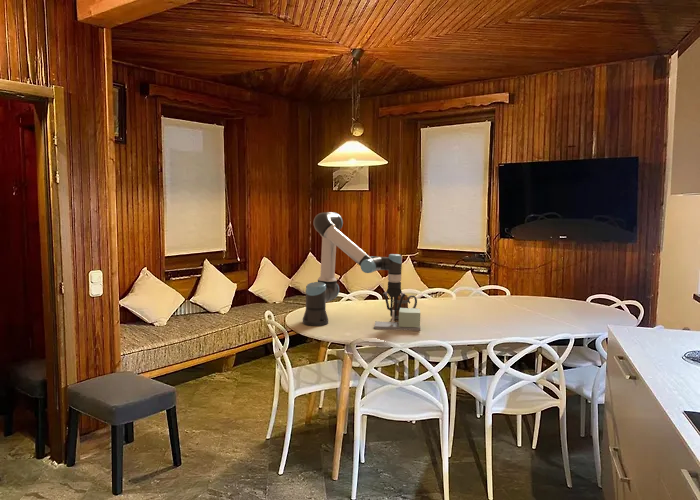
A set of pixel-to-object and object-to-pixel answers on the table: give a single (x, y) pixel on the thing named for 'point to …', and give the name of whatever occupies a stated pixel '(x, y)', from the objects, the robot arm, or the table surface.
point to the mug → (403, 304)
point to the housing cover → (409, 317)
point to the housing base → (393, 326)
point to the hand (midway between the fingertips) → (393, 321)
